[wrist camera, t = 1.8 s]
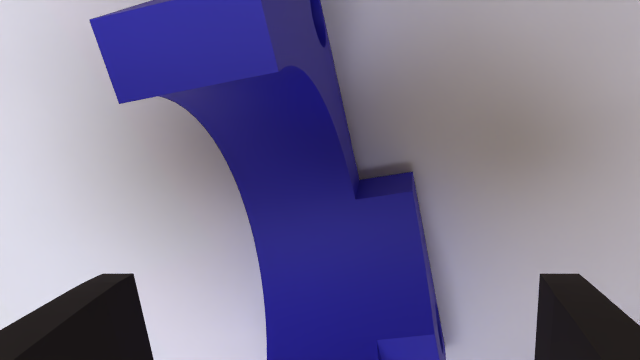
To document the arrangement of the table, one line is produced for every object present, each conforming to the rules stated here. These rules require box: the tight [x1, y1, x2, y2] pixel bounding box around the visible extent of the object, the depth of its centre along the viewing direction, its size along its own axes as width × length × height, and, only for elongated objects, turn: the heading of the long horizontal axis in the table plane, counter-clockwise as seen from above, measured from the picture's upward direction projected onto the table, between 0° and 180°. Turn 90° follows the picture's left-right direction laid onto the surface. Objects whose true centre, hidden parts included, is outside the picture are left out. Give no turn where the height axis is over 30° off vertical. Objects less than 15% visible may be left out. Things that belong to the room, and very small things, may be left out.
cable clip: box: [90, 0, 446, 360], centre depth 15 cm, size 12×4×6 cm, turn 13°
